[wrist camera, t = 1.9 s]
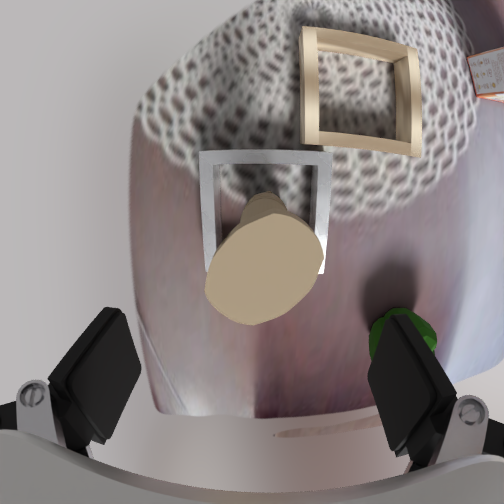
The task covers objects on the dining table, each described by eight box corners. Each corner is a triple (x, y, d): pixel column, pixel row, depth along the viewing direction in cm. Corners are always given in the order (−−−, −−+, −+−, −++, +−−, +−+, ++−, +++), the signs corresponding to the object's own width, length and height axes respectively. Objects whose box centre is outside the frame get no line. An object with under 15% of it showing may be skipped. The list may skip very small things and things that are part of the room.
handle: (227, 214, 28) (186, 288, 14) (268, 166, 26) (267, 193, 12) (263, 243, 29) (257, 337, 15) (304, 197, 27) (343, 259, 13)
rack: (298, 39, 20) (302, 26, 17) (402, 56, 20) (417, 49, 16) (300, 143, 25) (304, 144, 21) (404, 154, 24) (420, 157, 21)
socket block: (207, 150, 25) (198, 151, 22) (324, 151, 25) (332, 152, 21) (212, 257, 30) (205, 271, 26) (317, 259, 29) (323, 273, 26)
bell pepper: (426, 303, 31) (461, 350, 21) (398, 349, 34) (421, 399, 25) (379, 291, 30) (412, 344, 21) (351, 342, 33) (370, 399, 24)
